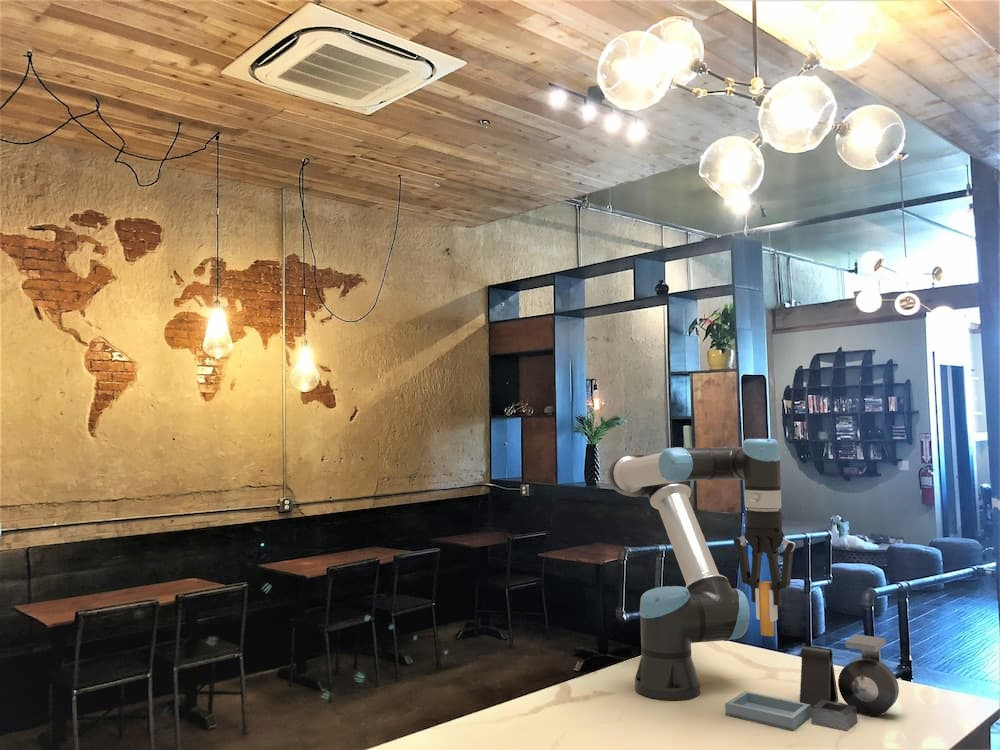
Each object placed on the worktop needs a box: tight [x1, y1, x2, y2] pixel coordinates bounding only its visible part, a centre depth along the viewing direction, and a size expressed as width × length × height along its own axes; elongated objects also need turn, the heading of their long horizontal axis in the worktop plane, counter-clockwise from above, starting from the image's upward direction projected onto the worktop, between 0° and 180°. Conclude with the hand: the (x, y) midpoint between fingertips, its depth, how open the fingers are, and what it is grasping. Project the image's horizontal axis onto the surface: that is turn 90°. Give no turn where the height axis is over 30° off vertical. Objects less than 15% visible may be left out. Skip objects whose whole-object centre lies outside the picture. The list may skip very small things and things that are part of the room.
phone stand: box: [799, 644, 839, 708], centre depth 169 cm, size 9×6×12 cm, turn 142°
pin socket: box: [810, 700, 858, 732], centre depth 157 cm, size 7×7×3 cm
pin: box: [759, 580, 775, 637], centre depth 163 cm, size 3×3×11 cm
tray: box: [724, 690, 812, 732], centre depth 161 cm, size 14×10×2 cm
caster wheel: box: [837, 634, 900, 717], centre depth 163 cm, size 11×8×15 cm
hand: (766, 619), depth 163 cm, fingers closed on pin, 2 cm apart
